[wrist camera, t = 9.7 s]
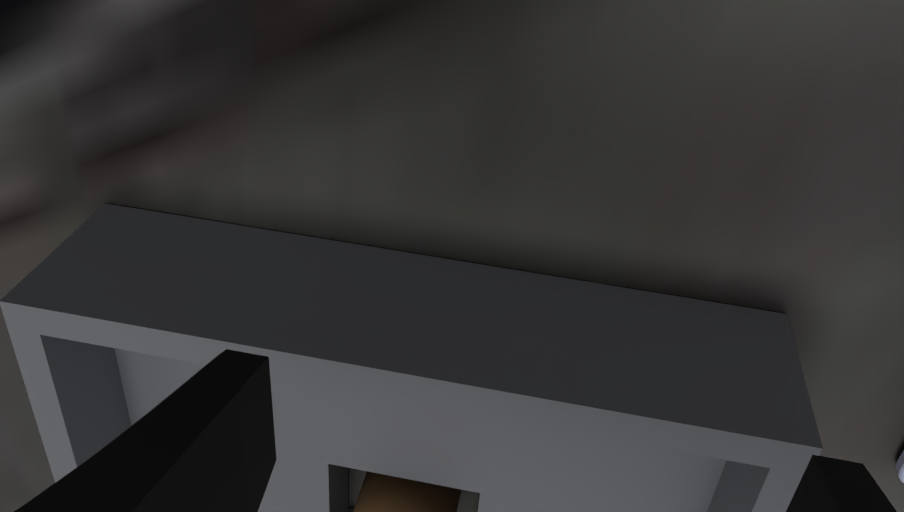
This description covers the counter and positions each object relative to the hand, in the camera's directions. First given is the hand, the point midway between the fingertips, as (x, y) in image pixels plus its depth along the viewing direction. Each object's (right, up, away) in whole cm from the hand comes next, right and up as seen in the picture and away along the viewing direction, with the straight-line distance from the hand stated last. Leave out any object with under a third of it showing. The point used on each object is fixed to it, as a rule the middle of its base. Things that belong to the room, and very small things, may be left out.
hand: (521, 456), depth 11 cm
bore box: (-2, -4, +15) cm, 16 cm away
